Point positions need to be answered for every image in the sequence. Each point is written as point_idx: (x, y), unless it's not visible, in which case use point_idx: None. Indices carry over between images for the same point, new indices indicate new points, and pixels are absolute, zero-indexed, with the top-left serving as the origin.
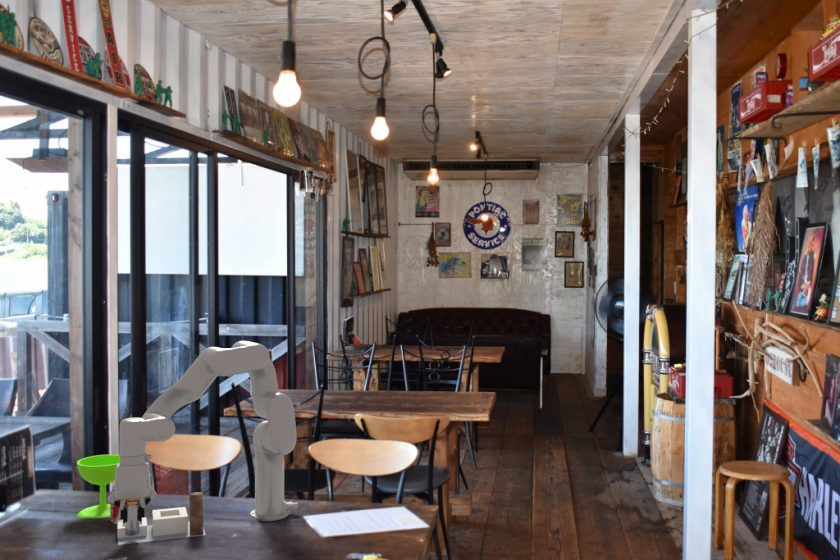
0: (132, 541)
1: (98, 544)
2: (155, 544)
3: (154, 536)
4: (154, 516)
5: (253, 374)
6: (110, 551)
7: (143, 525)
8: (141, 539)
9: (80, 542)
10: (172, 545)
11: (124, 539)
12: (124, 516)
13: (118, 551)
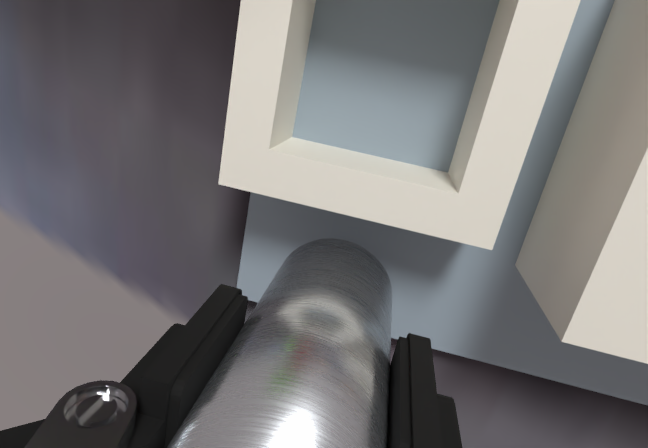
0: None
1: (132, 135)
2: None
3: (519, 275)
4: (630, 228)
5: None
6: (195, 311)
7: (462, 223)
8: (408, 282)
9: (15, 16)
10: (575, 431)
11: (294, 213)
12: None
13: None
